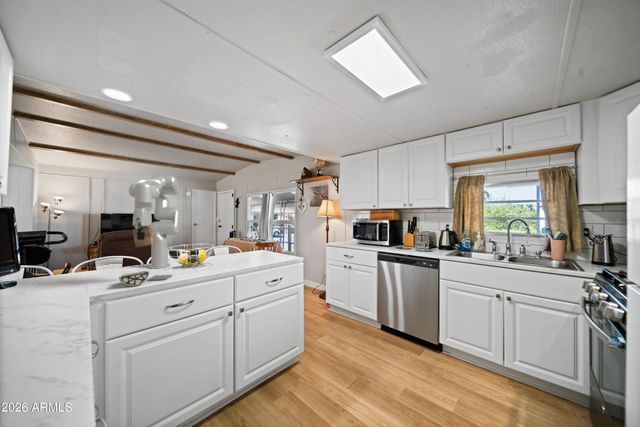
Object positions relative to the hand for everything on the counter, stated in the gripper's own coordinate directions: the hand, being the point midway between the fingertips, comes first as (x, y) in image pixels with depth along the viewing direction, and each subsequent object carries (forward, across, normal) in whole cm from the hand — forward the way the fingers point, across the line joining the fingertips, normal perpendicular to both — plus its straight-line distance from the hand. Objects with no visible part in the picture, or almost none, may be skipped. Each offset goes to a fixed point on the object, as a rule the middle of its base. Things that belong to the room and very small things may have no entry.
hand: (142, 238), depth 129 cm
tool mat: (+23, -3, +8) cm, 24 cm away
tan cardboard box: (+4, 0, +1) cm, 4 cm away
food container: (+21, +3, -2) cm, 22 cm away
